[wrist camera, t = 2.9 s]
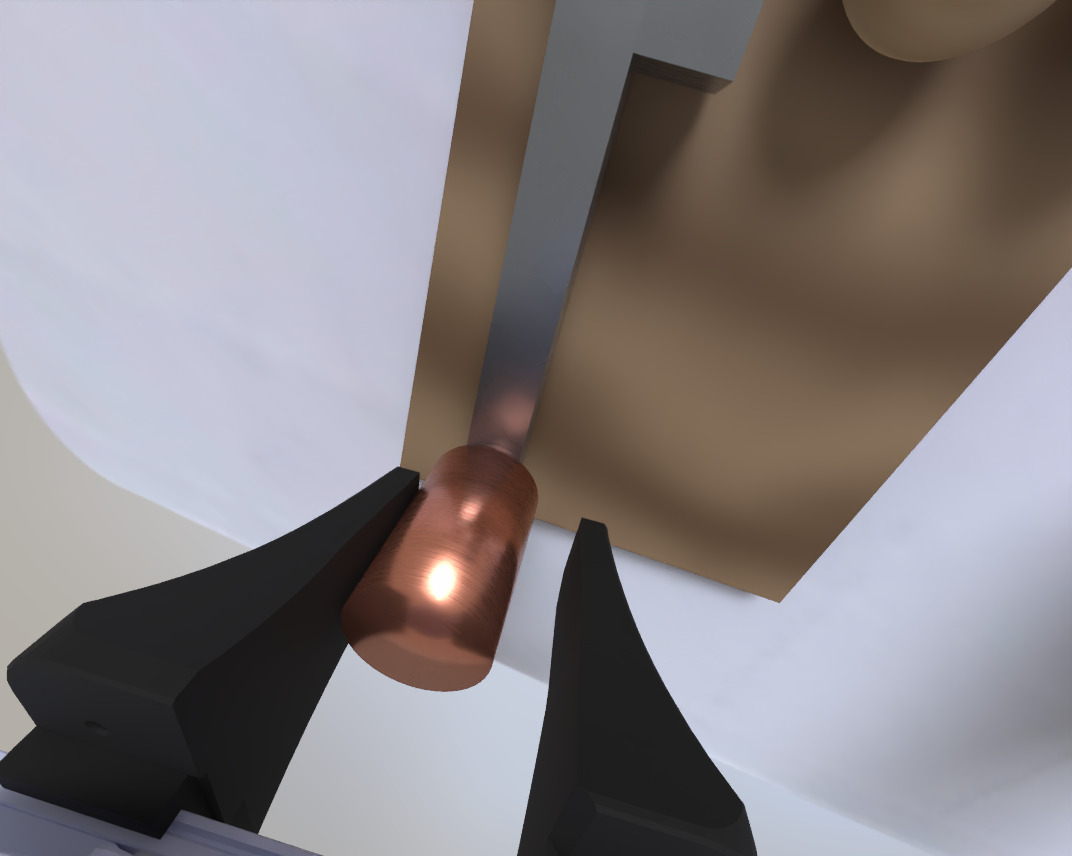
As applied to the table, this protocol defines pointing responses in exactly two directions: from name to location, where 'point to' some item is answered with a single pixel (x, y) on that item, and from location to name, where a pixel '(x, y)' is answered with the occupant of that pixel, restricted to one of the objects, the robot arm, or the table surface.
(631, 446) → the board
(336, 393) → the table surface
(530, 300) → the lever
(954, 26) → the walnut
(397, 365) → the table surface
